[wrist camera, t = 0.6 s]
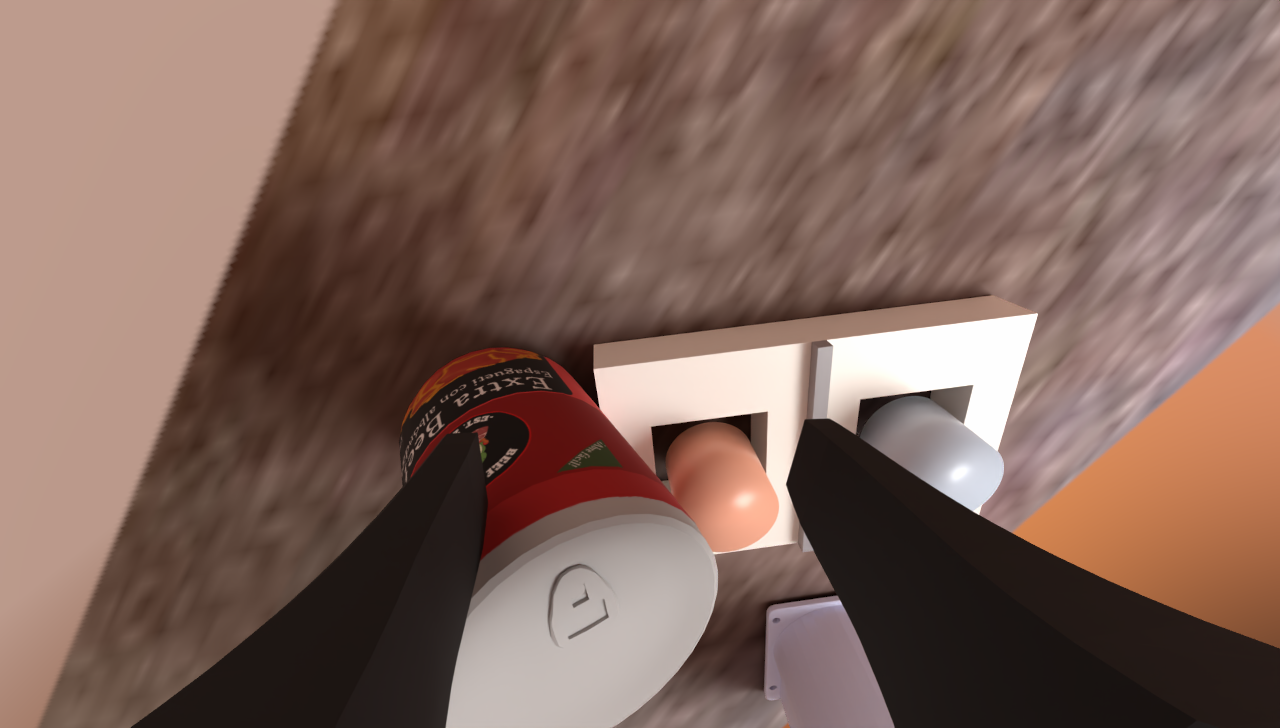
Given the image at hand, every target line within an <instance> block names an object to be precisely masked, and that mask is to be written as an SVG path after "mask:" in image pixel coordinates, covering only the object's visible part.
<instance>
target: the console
mask: <svg viewBox="0 0 1280 728" xmlns="http://www.w3.org/2000/svg"><path fill="white" fill-rule="evenodd" d="M1037 315H1038V313H1036V312H1033V311H1031V310H1028V309H1026V308H1023V307H1021V306H1018V305H1016V304H1013V303H1011V302H1008V301H1006V300H1003V299H1001V298H999V297H996V296H994V295H991V296H983V297H975V298H967V299H959V300H951V301H943V302H935V303H927V304H918V305H910V306H902V307H894V308H886V309H878V310H870V311H862V312H854V313H846V314H838V315H830V316H821V317H813V318H805V319H797V320H789V321H781V322H773V323H765V324H757V325H749V326H741V327H733V328H724V329H716V330H708V331H700V332H692V333H684V334H676V335H668V336H660V337H652V338H644V339H636V340H627V341H619V342H611V343H603V344H595V345H594V375H595V382H596V388H597V394H598V401H599V407H600V410H601V411H602V412H603V414H604V415H605V416H606V417H607V418H608V419H609V421H610V422H611V423H612V424H613V425H614V426H615V428H616V429H617V430H618V431H619V432H620V433H621V435H622V436H623V437H624V438H625V439H626V441H627V442H628V443H629V444H630V445H631V446H632V448H633V449H634V450H635V451H636V452H637V453H638V455H639V456H640V457H641V458H642V459H643V461H644V462H645V463H646V464H647V465H648V466H649V468H650V469H651V470H652V471H653V472H654V473H655V475H656V470H655V461H654V451H653V441H652V432H651V427H652V426H659V425H667V424H675V423H682V422H690V421H698V420H705V419H713V418H721V417H729V416H736V415H744V414H751V445H752V447H753V449H754V451H755V453H756V455H757V457H758V459H759V461H760V463H761V465H762V467H763V469H764V471H765V473H766V475H767V477H768V479H769V481H770V483H771V485H772V487H773V489H774V491H775V493H776V495H777V497H778V501H779V512H778V516H777V519H776V521H775V523H774V525H773V526H772V528H771V529H770V530H769V532H768V533H767V534H766V535H765V536H763V537H762V538H761V539H760V540H758V541H757V542H755V543H753V544H751V545H749V546H747V547H745V548H742V549H739V550H735V551H741V550H749V549H756V548H763V547H770V546H777V545H785V544H792V543H798V544H799V546H800V548H801V550H802V552H807V551H814V550H813V548H812V546H811V544H810V542H809V540H808V539H807V537H806V535H805V533H804V531H803V529H802V527H801V525H800V522H799V520H798V517H797V514H796V512H795V509H794V507H793V504H792V501H791V498H790V495H789V492H788V489H787V486H786V482H787V478H788V475H789V472H790V468H791V465H792V461H793V458H794V454H795V451H796V448H797V444H798V441H799V437H800V434H801V431H802V427H803V424H804V420H805V419H826V418H830V419H831V420H833V421H835V422H837V423H838V424H840V425H841V426H843V427H845V428H846V429H848V430H849V431H851V432H852V433H854V434H855V435H856V428H857V421H858V413H859V405H860V399H867V398H875V397H882V396H890V395H898V394H906V393H913V392H921V391H929V390H932V391H931V396H930V399H931V400H933V401H935V402H936V403H937V404H938V405H940V406H941V407H942V408H944V409H945V410H946V411H947V412H949V413H950V414H951V415H952V416H954V417H955V418H956V419H957V420H959V421H960V422H961V423H963V424H964V425H965V426H966V427H968V428H969V429H970V430H971V431H973V432H974V433H975V434H977V435H978V436H979V437H980V438H982V439H983V440H984V441H985V442H987V443H988V444H989V445H990V446H992V447H993V448H994V449H996V450H997V451H998V448H999V444H1000V441H1001V438H1002V434H1003V431H1004V427H1005V424H1006V421H1007V417H1008V414H1009V410H1010V407H1011V404H1012V400H1013V397H1014V393H1015V390H1016V387H1017V383H1018V380H1019V376H1020V373H1021V370H1022V366H1023V363H1024V359H1025V356H1026V352H1027V349H1028V346H1029V342H1030V339H1031V335H1032V332H1033V329H1034V325H1035V322H1036V318H1037ZM661 482H662V483H663V484H664V485H665V486H666V488H667V489H668V490H669V491H670V492H671V489H670V485H669V480H665V481H661ZM981 506H982V505H981ZM981 506H980V507H978V508H977V509H976V510H974V511H973V512H975V513H977V514H978V515H979V512H980V509H981ZM730 552H734V551H730ZM713 553H714V554H720V553H727V552H713Z"/></svg>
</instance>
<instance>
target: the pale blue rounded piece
mask: <svg viewBox="0 0 1280 728" xmlns="http://www.w3.org/2000/svg"><path fill="white" fill-rule="evenodd" d="M860 438H861V439H863V440H864V441H866V442H867V443H868V444H870V445H871V446H873V447H874V448H876V449H877V450H879V451H880V452H882V453H883V454H885V455H886V456H887V457H889V458H890V459H892V460H893V461H895V462H896V463H898V464H899V465H901V466H902V467H904V468H905V469H907V470H908V471H910V472H911V473H913V474H914V475H916V476H917V477H919V478H920V479H922V480H923V481H925V482H926V483H928V484H930V485H931V486H933V487H934V488H936V489H937V490H939V491H940V492H942V493H944V494H945V495H947V496H949V497H950V498H952V499H954V500H955V501H957V502H958V503H960V504H962V505H963V506H965V507H967V508H968V509H970V510H972V511H974V510H976V509H977V508H978V507H980V506H981V505H982V504H984V503H985V502H986V501H987V500H988V499H989V498H990V497H991V496H992V495H993V493H994V492H995V491H996V489H997V488H998V486H999V484H1000V482H1001V480H1002V477H1003V472H1004V464H1003V460H1002V457H1001V455H1000V454H999V453H998V451H997V450H996V449H994V448H993V447H992V446H990V445H989V444H988V443H987V442H985V441H984V440H983V439H982V438H980V437H979V436H978V435H977V434H975V433H974V432H973V431H971V430H970V429H969V428H968V427H966V426H965V425H964V424H963V423H961V422H960V421H959V420H957V419H956V418H955V417H954V416H952V415H951V414H950V413H949V412H947V411H946V410H945V409H944V408H942V407H941V406H940V405H938V404H937V403H936V402H935V401H933V400H931V399H929V398H926V397H922V396H907V397H902V398H899V399H896V400H893V401H891V402H889V403H887V404H885V405H884V406H882V407H881V408H879V409H878V410H877V411H876V412H875V413H874V414H873V415H872V416H871V417H870V418H869V419H868V420H867V422H866V423H865V425H864V427H863V429H862V431H861V434H860Z"/></svg>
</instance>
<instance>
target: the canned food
mask: <svg viewBox="0 0 1280 728" xmlns="http://www.w3.org/2000/svg"><path fill="white" fill-rule="evenodd" d="M475 432H478V438H479V445H480V451H481V458H482V464H483V471H484V478H485V484H486V491H487V497H488V510H487V519H486V528H485V536H484V544H483V550H482V555H481V559H480V564H479V568H478V572H477V576H476V581H475V585H474V589H473V593H472V598H471V602H470V606H469V610H468V614H467V619H466V623H465V627H464V631H463V636H462V640H461V644H460V648H459V652H458V657H457V661H456V666H455V672H454V677H453V682H452V688H451V694H450V701H449V708H448V715H447V722H446V728H612V727H614V726H616V725H617V724H619V723H620V722H622V721H623V720H624V719H626V718H627V717H628V716H630V715H631V714H633V713H634V712H635V711H637V710H638V709H639V708H640V707H642V706H643V705H644V704H645V703H646V702H647V701H648V700H650V699H651V698H652V697H653V696H654V695H655V694H656V693H657V692H659V691H660V690H661V689H662V687H663V686H664V685H665V684H666V683H667V682H668V681H669V680H670V679H671V678H672V677H673V676H674V675H675V673H676V672H677V671H678V670H679V669H680V667H681V666H682V665H683V663H684V662H685V661H686V659H687V658H688V657H689V655H690V654H691V653H692V651H693V650H694V648H695V646H696V645H697V643H698V641H699V639H700V638H701V636H702V634H703V633H704V631H705V628H706V626H707V624H708V621H709V619H710V616H711V614H712V612H713V608H714V603H715V599H716V595H717V589H718V570H717V565H716V561H715V556H714V553H713V552H712V550H711V548H710V546H709V544H708V543H707V541H706V539H705V538H704V537H703V535H702V534H701V532H700V530H699V529H698V527H697V525H696V523H695V522H694V521H693V520H692V519H691V517H690V516H689V515H688V514H687V513H686V511H685V510H684V509H683V508H682V507H681V505H680V504H679V503H678V501H677V500H676V498H675V497H674V496H673V495H672V493H671V492H670V491H669V490H668V489H667V488H666V486H665V485H664V484H663V483H662V482H661V481H660V479H659V478H658V477H657V476H656V475H655V473H654V472H653V471H652V470H651V469H650V468H649V466H648V465H647V464H646V463H645V462H644V461H643V459H642V458H641V457H640V456H639V455H638V453H637V452H636V451H635V450H634V449H633V448H632V446H631V445H630V444H629V443H628V442H627V441H626V439H625V438H624V437H623V436H622V435H621V433H620V432H619V431H618V430H617V429H616V428H615V426H614V425H613V424H612V423H611V422H610V421H609V419H608V418H607V417H606V416H605V415H604V414H603V412H602V411H601V410H600V409H599V408H598V406H597V405H596V404H595V403H594V402H593V401H592V399H591V398H590V397H589V396H588V395H587V394H586V392H585V391H584V390H583V389H582V388H581V386H580V385H579V384H578V383H577V382H576V381H575V379H574V378H573V377H572V376H571V375H570V374H569V373H568V372H567V371H566V370H565V369H564V368H563V367H562V366H560V365H558V364H557V363H555V362H554V361H552V360H550V359H549V358H547V357H544V356H541V355H539V354H536V353H533V352H530V351H526V350H521V349H515V348H508V347H503V348H487V349H483V350H478V351H474V352H470V353H468V354H466V355H463V356H461V357H459V358H456V359H454V360H452V361H451V362H449V363H448V364H446V365H445V366H443V367H442V368H440V369H439V370H437V371H436V372H435V373H434V374H433V375H432V376H431V377H430V378H429V379H428V380H427V381H426V382H425V383H424V385H423V386H422V388H421V389H420V390H419V392H418V393H417V395H416V396H415V398H414V399H413V401H412V402H411V404H410V405H409V408H408V410H407V413H406V415H405V418H404V420H403V423H402V428H401V434H400V441H399V444H400V457H401V471H402V484H403V486H404V485H405V484H406V483H407V481H408V480H409V479H410V478H411V477H412V475H413V474H414V473H415V472H416V470H417V469H418V468H419V467H420V466H421V464H422V463H423V462H424V461H425V459H426V458H427V457H428V456H429V454H430V453H431V452H432V451H433V449H434V448H435V447H436V446H437V444H438V443H439V442H440V440H441V439H442V438H443V437H444V436H445V435H446V434H450V433H475Z"/></svg>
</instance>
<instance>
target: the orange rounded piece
mask: <svg viewBox="0 0 1280 728" xmlns="http://www.w3.org/2000/svg"><path fill="white" fill-rule="evenodd" d="M665 462H666V470H667V475H668V480H669V485H670V489H671V493H672V495H673V496H674V497H675V498H676V500H677V501H678V503H679V504H680V505H681V507H682V508H683V509H684V510H685V511H686V513H687V514H688V515H689V516H690V517H691V519H692V520H693V521H694V522H695V523H696V525H697V527H698V529H699V530H700V532H701V534H702V535H703V537H704V538H705V539H706V541H707V543H708V544H709V546H710V548H711V550H712V552H730V551H735V550H739V549H742V548H745V547H747V546H749V545H751V544H753V543H755V542H757V541H758V540H760V539H761V538H762V537H763V536H765V535H766V534H767V533H768V532H769V530H770V529H771V528H772V526H773V525H774V523H775V521H776V519H777V516H778V512H779V501H778V497H777V495H776V493H775V491H774V489H773V487H772V485H771V483H770V481H769V479H768V477H767V475H766V473H765V471H764V469H763V467H762V465H761V463H760V461H759V459H758V457H757V455H756V453H755V451H754V449H753V447H752V445H751V443H750V441H749V439H748V438H747V436H746V435H745V434H744V433H743V432H742V431H741V430H740V429H738V428H737V427H735V426H732V425H730V424H727V423H721V422H707V423H702V424H698V425H695V426H693V427H691V428H689V429H687V430H685V431H684V432H682V433H681V434H680V435H679V436H678V437H676V439H675V440H674V441H673V442H672V444H671V445H670V447H669V449H668V451H667V455H666V460H665Z"/></svg>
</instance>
